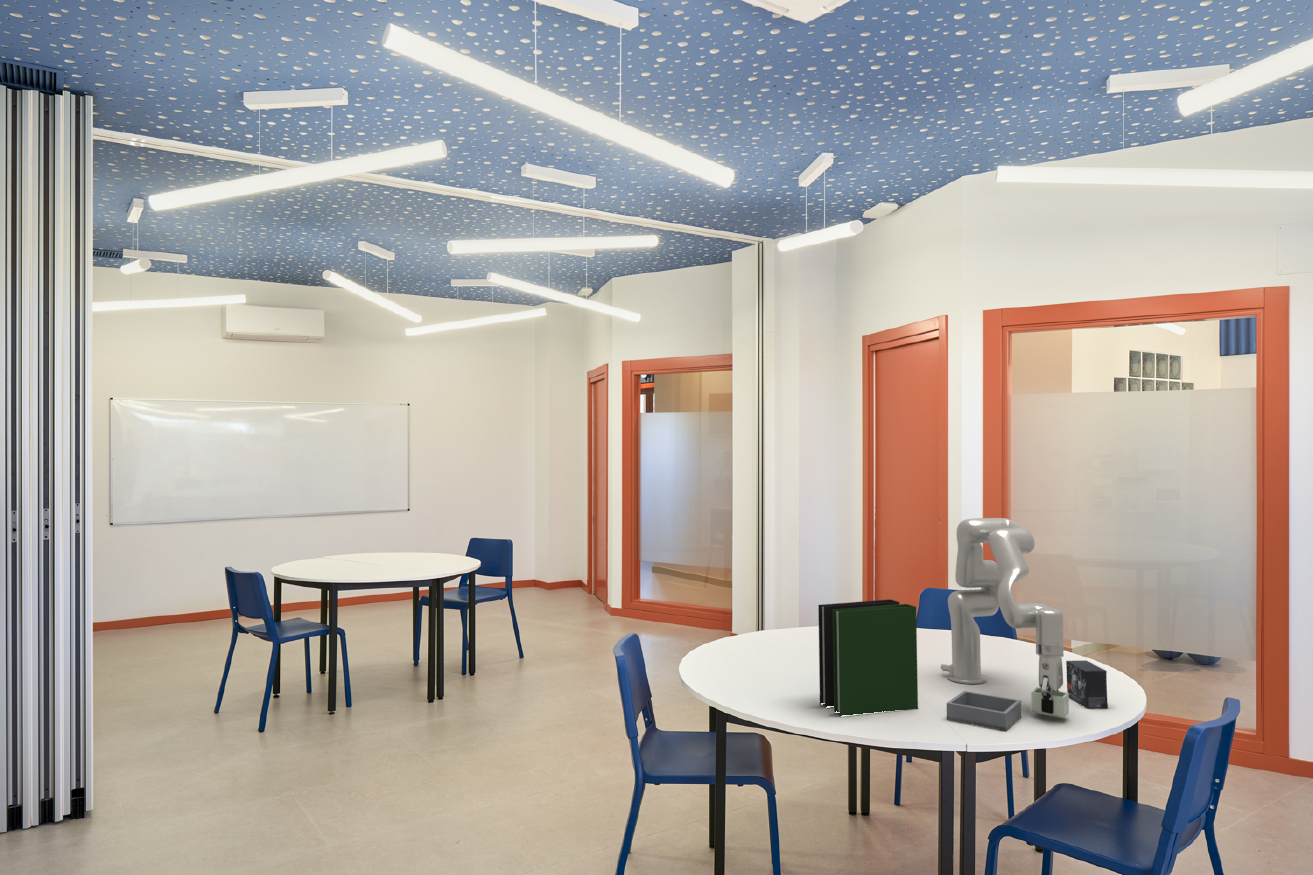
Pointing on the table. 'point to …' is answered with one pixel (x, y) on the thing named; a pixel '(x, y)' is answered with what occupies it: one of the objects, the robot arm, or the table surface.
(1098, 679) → the small box
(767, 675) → the table surface
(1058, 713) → the small crate
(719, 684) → the table surface
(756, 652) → the table surface
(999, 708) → the big crate
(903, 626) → the binder
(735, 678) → the table surface
